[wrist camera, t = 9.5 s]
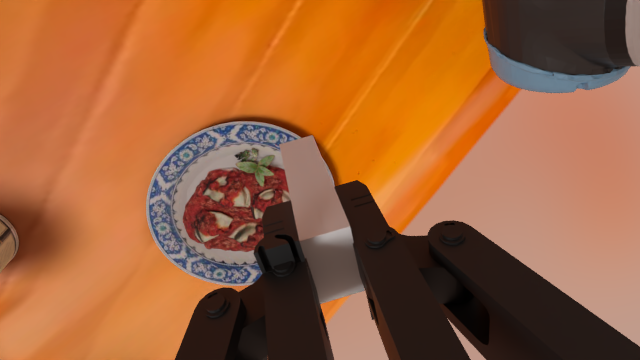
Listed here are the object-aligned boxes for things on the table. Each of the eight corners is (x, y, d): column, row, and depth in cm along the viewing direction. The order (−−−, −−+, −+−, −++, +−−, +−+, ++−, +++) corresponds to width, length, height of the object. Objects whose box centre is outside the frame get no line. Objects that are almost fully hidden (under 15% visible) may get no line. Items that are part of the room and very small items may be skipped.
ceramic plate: (282, 294, 63) (284, 307, 60) (119, 247, 52) (114, 259, 50) (363, 164, 56) (370, 172, 53) (196, 80, 46) (194, 85, 43)
